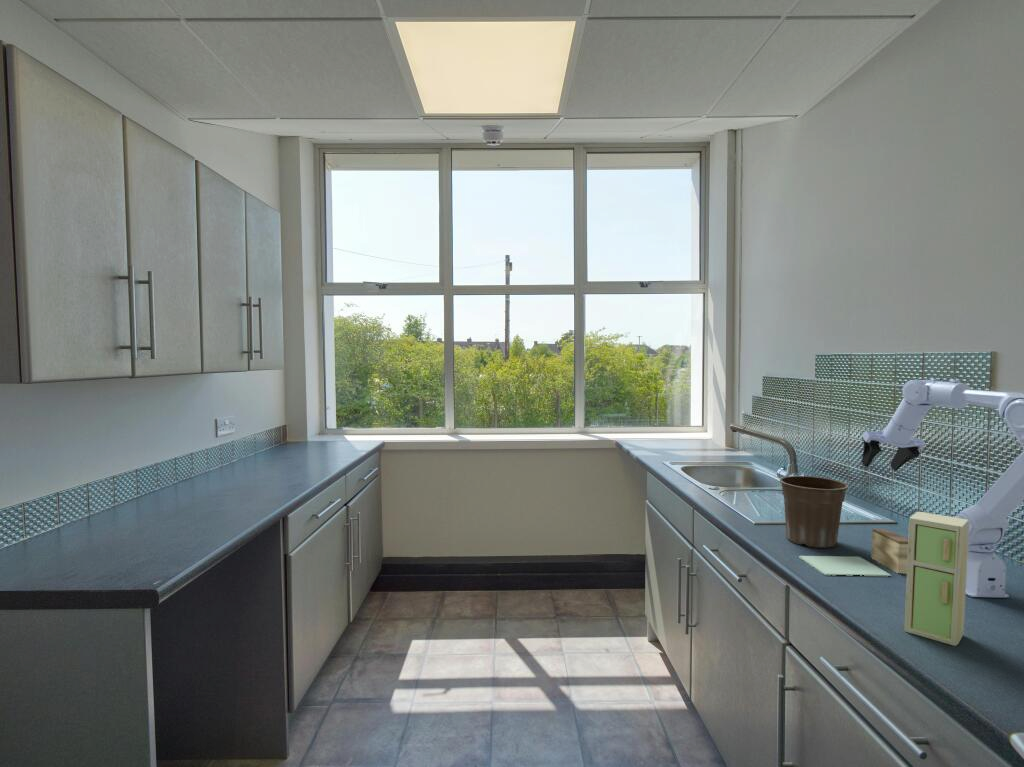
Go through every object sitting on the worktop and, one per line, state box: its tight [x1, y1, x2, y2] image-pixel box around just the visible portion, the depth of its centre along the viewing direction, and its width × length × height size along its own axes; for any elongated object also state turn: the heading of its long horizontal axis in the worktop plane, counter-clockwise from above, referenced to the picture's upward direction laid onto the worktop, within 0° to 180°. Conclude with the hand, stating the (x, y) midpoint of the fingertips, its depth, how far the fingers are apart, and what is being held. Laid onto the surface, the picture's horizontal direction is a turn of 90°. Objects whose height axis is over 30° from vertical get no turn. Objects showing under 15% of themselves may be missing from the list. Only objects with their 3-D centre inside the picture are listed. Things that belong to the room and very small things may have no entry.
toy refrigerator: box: [904, 511, 969, 647], centre depth 107 cm, size 8×7×21 cm
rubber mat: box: [798, 555, 892, 577], centre depth 142 cm, size 12×15×1 cm
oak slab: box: [870, 528, 908, 575], centre depth 143 cm, size 10×3×8 cm, turn 1°
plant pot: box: [779, 475, 849, 549], centre depth 160 cm, size 16×16×16 cm
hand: (878, 466), depth 153 cm, fingers open, 7 cm apart
